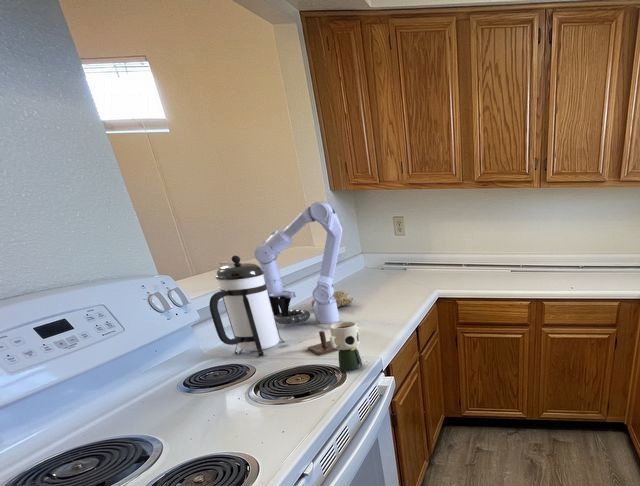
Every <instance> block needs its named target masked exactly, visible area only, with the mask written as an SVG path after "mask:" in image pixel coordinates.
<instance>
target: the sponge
mask: <svg viewBox="0 0 640 486" xmlns="http://www.w3.org/2000/svg"><path fill="white" fill-rule="evenodd" d="M333 297H334V298H335V299H336V303H337V308H340V307H343V306H348V305H350V304H352V303H353V301H354V297H353V296H352V295H351V294H350V293H348V292H345V291H335V293H334V295H333ZM315 302H316V300H315V299H314V298H313V300H312V301H311V302H310V303H311V307H312V308H313V306H314V304H315Z"/></svg>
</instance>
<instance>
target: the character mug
mask: <svg viewBox="0 0 640 486" xmlns="http://www.w3.org/2000/svg"><path fill="white" fill-rule="evenodd" d="M329 331H330V337H329V341H330V342H331V346H332V348H335V349H338V350H337V351H338V352H337V353H338V367H339V369H340V370H343V371H346V372H347V371H348V372H349V371H355V370H358V369H359V366H360V368H362V367H363V362H362V358H361V355H360V353H359V350H358V349H357V348H358V347H359V346H360V344H361V339H360V336H361V334H360V327H359V326H358V324H357V322H355V321H347V320H346V321H338V322H336V323H332V324H330V326H329Z"/></svg>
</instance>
